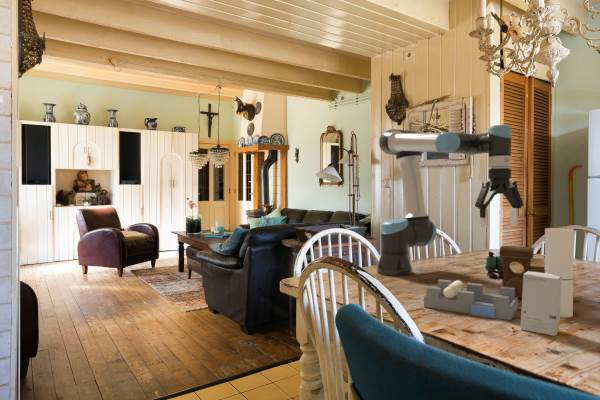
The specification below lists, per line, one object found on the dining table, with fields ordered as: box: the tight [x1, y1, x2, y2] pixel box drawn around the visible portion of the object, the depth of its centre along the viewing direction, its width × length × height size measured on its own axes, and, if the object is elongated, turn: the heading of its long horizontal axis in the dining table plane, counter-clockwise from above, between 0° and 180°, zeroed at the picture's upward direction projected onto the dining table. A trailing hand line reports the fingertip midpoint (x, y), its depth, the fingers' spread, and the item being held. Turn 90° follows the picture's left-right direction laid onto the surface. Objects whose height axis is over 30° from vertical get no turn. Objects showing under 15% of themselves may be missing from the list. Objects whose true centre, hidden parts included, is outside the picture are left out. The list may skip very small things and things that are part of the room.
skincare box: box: [520, 271, 562, 337], centre depth 108 cm, size 8×6×15 cm
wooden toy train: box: [499, 245, 545, 299], centre depth 141 cm, size 20×11×17 cm, turn 58°
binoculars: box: [484, 250, 504, 280], centre depth 172 cm, size 9×11×10 cm
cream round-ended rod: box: [443, 279, 465, 299], centre depth 132 cm, size 4×14×4 cm, turn 146°
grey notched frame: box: [423, 279, 519, 321], centre depth 129 cm, size 25×15×6 cm, turn 56°
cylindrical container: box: [544, 227, 575, 318], centre depth 122 cm, size 7×7×25 cm
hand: (499, 226), depth 152 cm, fingers open, 13 cm apart
